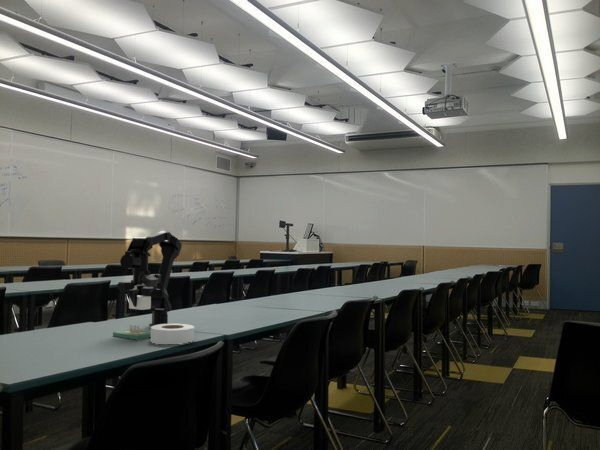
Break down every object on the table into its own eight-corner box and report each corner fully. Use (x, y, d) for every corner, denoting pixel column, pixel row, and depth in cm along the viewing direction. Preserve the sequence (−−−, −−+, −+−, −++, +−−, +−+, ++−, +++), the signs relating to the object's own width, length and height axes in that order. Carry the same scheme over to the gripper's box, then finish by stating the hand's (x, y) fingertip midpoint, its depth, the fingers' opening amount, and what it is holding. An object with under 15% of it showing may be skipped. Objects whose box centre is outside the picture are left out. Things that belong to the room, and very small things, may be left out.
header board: (113, 336, 204) (113, 325, 204) (132, 332, 212) (132, 322, 212) (137, 340, 196) (137, 329, 197) (155, 336, 204) (156, 325, 204)
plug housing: (128, 308, 217) (129, 296, 217) (137, 307, 220) (137, 295, 220) (142, 309, 212) (142, 297, 212) (150, 308, 216) (150, 296, 216)
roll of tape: (194, 337, 205) (194, 322, 205) (193, 345, 190) (193, 329, 190) (152, 338, 202) (153, 323, 203) (148, 346, 187) (148, 330, 187)
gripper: (135, 269, 204) (134, 309, 204) (171, 267, 220) (170, 305, 219) (116, 268, 211) (115, 307, 210) (153, 266, 226) (152, 303, 226)
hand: (139, 306), depth 216 cm, fingers closed on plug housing, 4 cm apart
